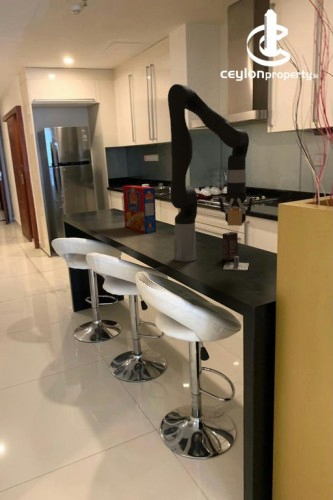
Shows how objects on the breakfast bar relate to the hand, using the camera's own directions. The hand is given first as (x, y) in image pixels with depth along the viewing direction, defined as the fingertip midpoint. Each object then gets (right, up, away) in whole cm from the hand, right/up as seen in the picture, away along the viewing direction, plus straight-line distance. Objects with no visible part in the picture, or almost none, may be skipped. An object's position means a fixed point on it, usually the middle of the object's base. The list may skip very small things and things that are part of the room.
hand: (235, 222), depth 160 cm
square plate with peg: (+1, -19, +6) cm, 20 cm away
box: (+1, -16, +19) cm, 25 cm away
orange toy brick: (0, -1, 0) cm, 1 cm away
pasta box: (-46, +1, +93) cm, 104 cm away
